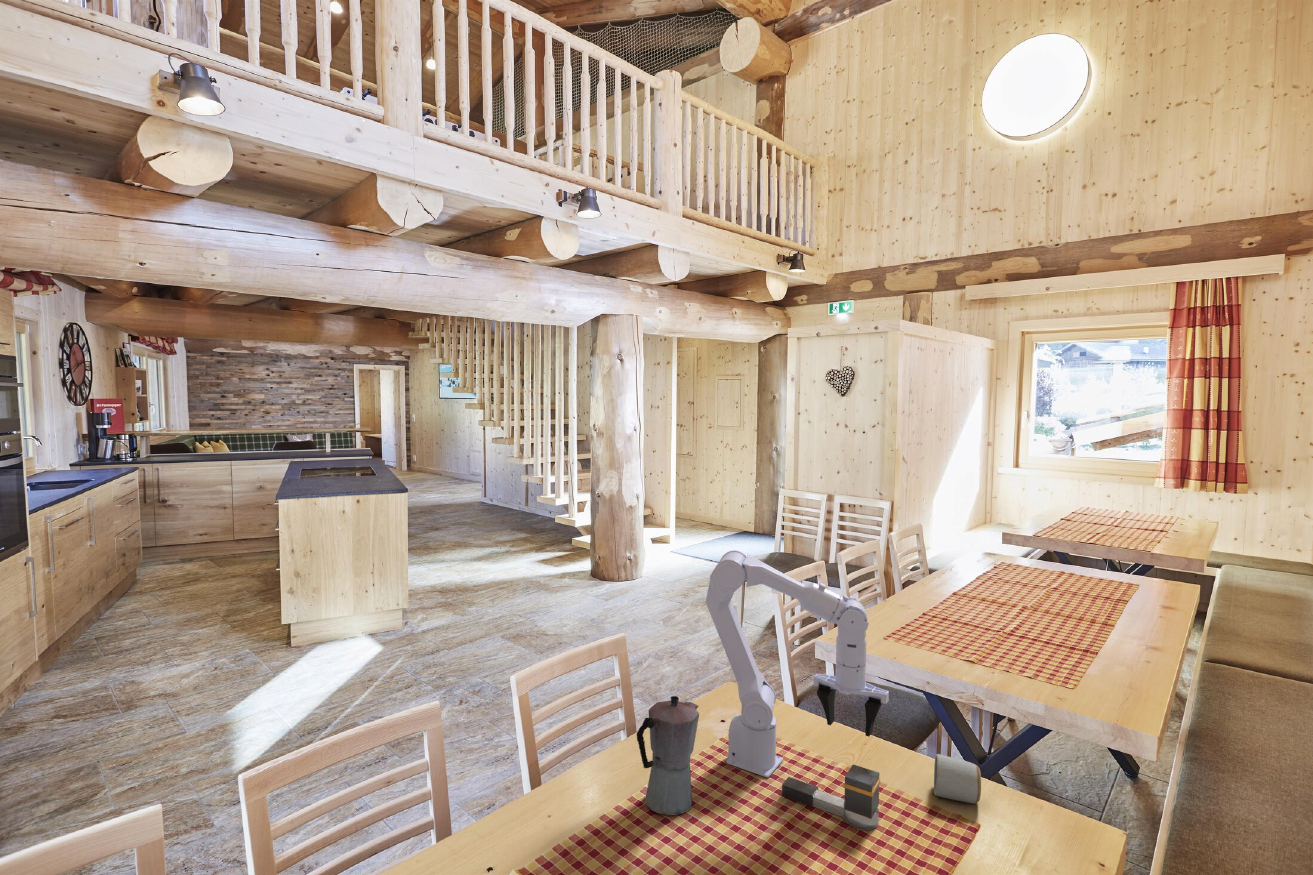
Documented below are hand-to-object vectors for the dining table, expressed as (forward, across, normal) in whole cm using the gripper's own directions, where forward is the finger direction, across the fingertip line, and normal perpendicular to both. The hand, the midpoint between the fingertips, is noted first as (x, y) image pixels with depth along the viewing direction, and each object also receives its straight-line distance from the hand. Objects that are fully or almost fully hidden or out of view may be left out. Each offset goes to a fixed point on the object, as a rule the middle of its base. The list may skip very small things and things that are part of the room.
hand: (849, 728), depth 128 cm
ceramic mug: (+10, +18, +6) cm, 22 cm away
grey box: (+8, +6, -12) cm, 15 cm away
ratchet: (+10, 0, -12) cm, 16 cm away
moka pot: (+10, -25, -28) cm, 39 cm away
